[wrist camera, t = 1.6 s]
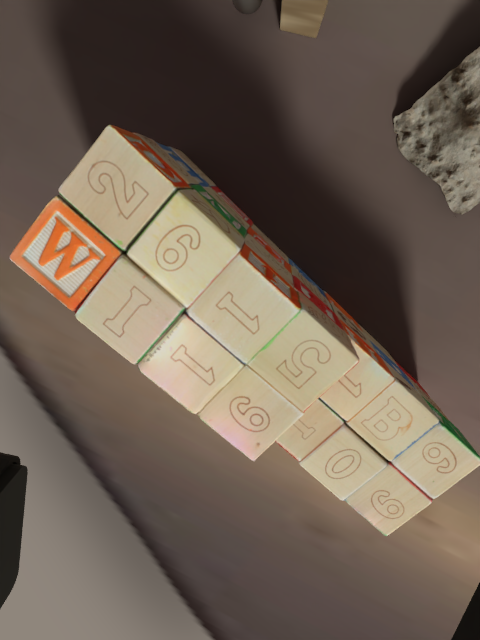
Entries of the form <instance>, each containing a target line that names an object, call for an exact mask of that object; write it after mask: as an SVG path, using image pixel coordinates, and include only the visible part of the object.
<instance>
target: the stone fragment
mask: <svg viewBox="0 0 480 640" xmlns="http://www.w3.org/2000/svg"><path fill="white" fill-rule="evenodd" d="M397 120H398V122H397V123H396V121H397ZM394 131H397V132H396V133H397V134H399V135H398V137H397V145H398V148H399V150H400V151H401V153H402V154H403V155H404V156H405V158H406V159H407V160H408V161H410V162H411V163H413V164H414V165H415V166H417V167H418V168H419V169H420V170H421V171H422V172H424V173H425V175H427V176H429V177H430V178H431V179H433V180H434V181H435V182H436V183H437V184H439V185H440V186H441V189H442V192H443V194H444V195H445V198H446V201H447V203H448V205H449V207H450V209H451V210H452V211H453V212H455V213H457V214H464V213H466V212H468V211H470V210H471V209H472V208H473V207H474V206H476V205H477V204H478V203H479V202H480V47H479V48H478V49H477V50H475V51H474V52H473V53H471V54H470V55H468V56H467V57H466V58H465V59H464V60H463V62H462V63H461V64H460V65H459V66H458V67H456V68H455V69H452V70H451V71H450V72H448V73H447V74H446V75H445V76H444V78H443V79H442V80H441V81H439V82H438V83H437V84H435V85H434V86H433V87H432V88H431V89H430V90H429V91H427V93H426V94H425V95H424V96H423V97H421V98H420V99H419V100H417V101H416V102H415V103H414V104H413V106H412V108H410V109H409V110H407V111H405V112H404V113H401V114H400V115H398V116H395V118H394ZM400 131H401V132H400ZM455 217H456V216H455Z"/></svg>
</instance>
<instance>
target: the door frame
mask: <svg viewBox="0 0 480 640" xmlns="http://www.w3.org/2000/svg"><path fill="white" fill-rule="evenodd" d="M327 3H328V0H282V8H281V22H280V30H283V31H287V32H292V33H296V34H300V35H304V36H309V37H313V38H316V37H317V34H318V31H319V28H320V25H321V22H322V19H323V15H324V12H325V9H326V6H327Z"/></svg>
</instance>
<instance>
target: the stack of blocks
mask: <svg viewBox="0 0 480 640" xmlns="http://www.w3.org/2000/svg"><path fill="white" fill-rule="evenodd" d="M58 190H59V193H60V195H58V196H55V197H54V198H53V199H52V200H51V201H50V202H49V203H48V204H47V206H46V207H45V208H44V210H43V211H42V212H41V214H40V215H39V216H38V218H37V219H36V220H35V222H34V223H33V224H32V226H31V227H30V228H29V230H28V231H27V232H26V234H25V235H24V237H23V238H22V239H21V241H20V242H19V243H18V245H17V246H16V247H15V249H14V250H13V252H12V253H11V255H10V260H11V261H13V262H14V263H15V264H16V265H17V266H18V267H20V268H21V269H22V270H23V271H24V272H26V273H27V274H28V275H29V276H30V277H32V278H33V279H34V280H35V281H37V282H38V283H39V284H40V285H41V286H43V287H44V288H45V289H46V290H47V291H48V292H49V293H50V294H52V295H53V296H54V297H56V298H57V299H58V300H59V301H60V302H61V303H63V304H64V305H65V306H66V307H67V308H69V309H70V310H72V311H75V315H76V318H77V320H79V321H80V322H81V323H83V324H84V325H85V326H86V327H87V328H89V329H90V330H91V331H92V332H93V333H95V334H96V335H97V336H99V337H100V338H101V339H102V340H103V341H105V342H106V343H107V344H108V345H110V346H111V347H112V348H113V349H114V350H116V351H117V352H118V353H119V354H121V355H122V356H123V357H125V358H126V359H127V360H128V361H130V362H131V363H133V364H138V366H139V370H140V371H141V373H142V374H144V375H145V376H146V377H147V378H149V379H150V380H151V381H152V382H154V383H155V384H156V385H158V386H159V387H160V388H161V389H162V390H164V391H165V392H166V393H167V394H169V395H170V396H171V397H172V398H174V399H175V400H176V401H177V402H179V403H180V404H181V405H182V406H183V407H185V408H186V409H187V410H188V411H190V412H191V413H194V414H197V415H198V416H199V417H200V419H201V420H202V421H203V422H205V423H206V424H207V425H208V426H210V427H211V428H212V429H213V430H215V431H216V432H217V433H218V434H219V435H221V436H222V437H223V438H224V439H226V440H227V441H228V442H229V443H230V444H232V445H233V446H234V447H235V448H237V449H238V450H239V451H241V452H242V453H243V454H244V455H246V456H247V457H248V458H249V459H250V460H252V461H255V460H256V459H257V458H258V457H259V456H260V455H261V454H262V453H263V452H264V451H265V450H266V449H267V448H268V447H269V446H270V445H271V444H273V443H274V442H276V443H278V444H279V445H280V446H281V447H282V448H283V449H285V450H286V451H287V452H288V453H289V454H290V455H291V456H293V457H294V458H295V459H296V460H298V462H299V464H300V465H301V466H302V467H303V468H304V469H305V470H306V471H308V472H309V473H310V474H311V475H312V476H313V477H315V478H316V479H317V480H318V481H319V482H320V483H322V484H323V485H324V486H325V487H326V488H327V489H329V490H330V491H331V492H332V493H333V494H334V495H336V496H337V497H338V498H339V499H340V500H345V501H346V502H347V503H348V504H349V505H350V506H351V507H352V508H353V509H355V510H356V511H357V512H358V513H359V514H360V515H362V516H363V517H364V518H365V519H366V520H367V521H368V522H369V523H371V524H372V525H373V526H374V527H375V528H377V529H378V530H379V531H380V532H381V533H382V534H384V535H385V536H388V535H389V534H391V533H392V532H393V531H395V530H396V529H397V528H399V527H400V526H401V525H403V524H404V523H405V522H407V521H408V520H409V519H411V518H412V517H413V516H415V515H416V514H417V513H419V512H420V511H422V510H423V509H424V508H426V507H427V506H428V505H430V504H431V503H432V500H433V499H434V498H436V497H438V496H439V495H441V494H442V493H443V492H445V491H446V490H448V489H449V488H450V487H452V486H453V485H454V484H456V483H457V482H458V481H459V480H461V479H462V478H463V477H465V476H466V475H468V474H469V473H470V472H471V471H473V470H474V469H475V468H477V467H478V466H479V465H480V456H479V455H478V454H477V452H476V451H475V450H474V449H473V447H472V446H471V445H470V444H469V442H468V441H467V440H466V439H465V437H464V436H463V435H462V433H461V432H460V431H459V430H458V429H457V428H456V427H455V426H454V425H453V424H452V423H451V422H450V421H449V420H448V419H447V417H446V416H445V415H444V414H443V412H442V411H441V410H440V408H439V407H438V406H437V405H436V404H435V402H434V401H433V400H432V399H431V398H430V397H429V396H428V394H427V393H426V391H425V390H424V389H423V388H422V387H421V385H420V384H419V383H418V382H417V381H416V380H415V379H414V378H413V377H412V376H411V375H410V374H409V373H408V372H406V371H405V370H404V369H403V368H402V367H401V366H400V365H399V364H398V363H397V362H396V361H395V360H394V359H393V358H392V357H391V356H390V354H389V353H388V352H387V351H386V350H385V349H384V348H383V347H382V346H381V345H380V344H379V343H378V342H377V341H376V340H375V339H374V338H373V337H372V336H371V335H370V334H369V333H368V332H367V331H366V330H365V329H364V328H362V327H361V326H360V325H359V324H358V323H357V322H356V321H355V320H354V319H353V318H352V317H351V316H350V315H349V314H348V313H347V312H346V311H345V310H344V309H343V308H342V307H341V306H340V305H339V304H338V303H337V302H336V301H335V300H334V299H333V298H332V297H331V296H330V295H329V294H328V293H327V292H325V291H323V290H322V289H321V288H320V287H319V286H318V285H316V284H315V283H314V282H313V281H312V280H311V279H310V278H309V277H308V276H307V275H306V274H305V273H304V272H303V271H302V270H301V269H300V268H299V267H298V266H297V265H296V264H295V263H294V262H293V261H292V260H291V259H289V258H288V257H287V256H286V255H285V254H284V253H283V252H282V251H281V250H280V249H279V248H278V247H277V246H276V245H275V244H274V243H273V242H272V241H271V240H270V239H269V238H268V237H267V236H266V235H264V234H263V233H262V232H261V231H260V230H259V229H258V228H257V227H256V226H255V225H254V224H253V222H252V220H251V219H249V218H248V217H247V216H246V214H245V213H244V212H242V211H241V210H240V209H239V208H238V207H237V206H236V205H235V204H234V203H233V202H232V201H231V200H230V199H229V198H228V197H227V196H226V195H225V194H224V193H223V192H222V191H221V190H220V189H219V188H218V187H217V186H216V185H215V184H214V183H213V182H212V181H211V180H210V179H209V178H208V177H207V176H206V175H205V174H204V173H203V172H202V171H201V170H200V169H199V168H198V167H197V166H196V165H195V164H194V163H193V162H192V161H191V160H190V159H189V158H188V157H187V156H186V155H185V154H184V153H183V152H182V151H180V150H178V149H175V148H173V147H170V146H168V147H167V146H165V145H162V144H159V143H157V142H155V141H154V140H153V139H150V138H148V137H145V136H143V135H141V134H138V133H135V132H133V133H132V132H129V131H127V130H124V129H121V128H119V127H117V126H114V125H108V126H107V127H106V128H105V129H104V130H103V132H102V133H101V135H100V136H99V137H98V139H97V140H96V141H95V143H94V144H93V145H92V146H91V148H90V149H89V150H88V152H87V153H86V154H85V155H84V157H83V158H82V159H81V161H80V162H79V163H78V165H77V166H76V167H75V168H74V170H73V171H72V172H71V173H70V175H69V176H68V177H67V179H66V180H65V181H64V182H63V184H62V185H61V186H60V188H59V189H58Z"/></svg>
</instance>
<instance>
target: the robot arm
mask: <svg viewBox="0 0 480 640" xmlns="http://www.w3.org/2000/svg"><path fill="white" fill-rule="evenodd" d="M26 483H27V467H26V466H22V465H20V459H19V457H18V456H14V455H9V454H4V453H0V608H1V607H2V605H3V604H4V602H5V600H6V599H7V597H8V595H9V594H10V592H11V590H12V588H13V586H14V584H15V581H16V578H17V575H18V570H19V560H20V549H21V538H22V527H23V516H24V505H25V493H26ZM451 640H480V583H479V585H478V587H477V589H476V591H475V593H474V595H473V597H472V599H471V601H470V603H469V605H468V607H467V609H466V611H465V613H464V615H463V617H462V619H461V621H460V623H459V625H458V627H457V629H456V631H455V633H454V635H453V637H452V639H451Z"/></svg>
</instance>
